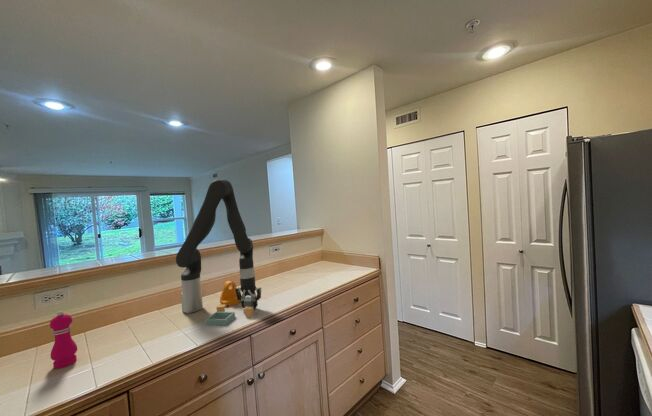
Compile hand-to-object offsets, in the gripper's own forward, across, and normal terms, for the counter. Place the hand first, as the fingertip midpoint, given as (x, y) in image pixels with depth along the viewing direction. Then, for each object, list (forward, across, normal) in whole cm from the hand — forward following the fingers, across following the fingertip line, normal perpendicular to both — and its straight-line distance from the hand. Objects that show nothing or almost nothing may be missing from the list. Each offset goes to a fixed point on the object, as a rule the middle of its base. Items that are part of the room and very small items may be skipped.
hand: (249, 307), depth 141 cm
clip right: (+1, +4, -8) cm, 9 cm away
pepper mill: (+1, -49, -51) cm, 71 cm away
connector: (+1, 0, 0) cm, 1 cm away
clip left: (+1, -13, -6) cm, 14 cm away
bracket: (+1, -15, +8) cm, 17 cm away
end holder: (+1, -8, -14) cm, 16 cm away
